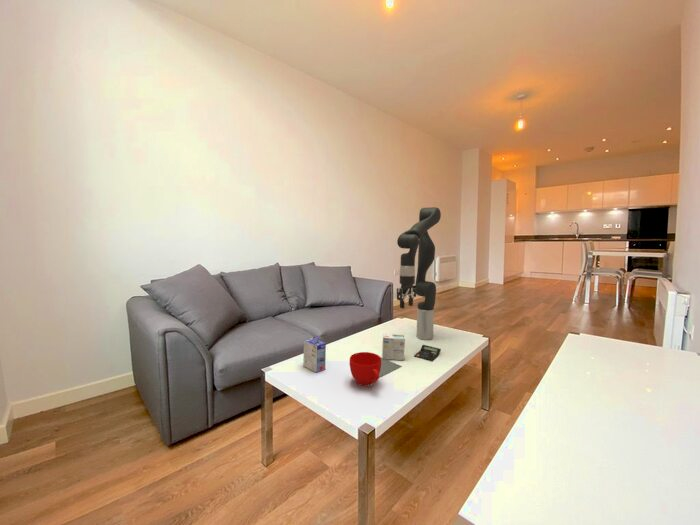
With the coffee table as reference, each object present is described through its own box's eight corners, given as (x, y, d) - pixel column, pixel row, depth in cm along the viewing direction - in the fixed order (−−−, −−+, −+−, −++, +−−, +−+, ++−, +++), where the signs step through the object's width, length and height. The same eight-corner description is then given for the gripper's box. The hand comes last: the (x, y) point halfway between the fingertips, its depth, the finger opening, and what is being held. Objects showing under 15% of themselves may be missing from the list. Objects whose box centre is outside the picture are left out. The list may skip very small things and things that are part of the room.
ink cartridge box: (326, 369, 132) (326, 337, 130) (316, 373, 128) (316, 341, 126) (312, 362, 138) (312, 332, 137) (302, 366, 134) (302, 335, 133)
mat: (372, 354, 148) (372, 354, 148) (401, 366, 135) (401, 366, 135) (349, 364, 137) (349, 363, 137) (378, 378, 124) (378, 377, 124)
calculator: (413, 357, 146) (414, 351, 146) (422, 349, 155) (423, 344, 155) (432, 362, 140) (432, 356, 140) (440, 354, 150) (440, 348, 149)
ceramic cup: (361, 398, 109) (362, 372, 108) (344, 377, 124) (344, 354, 123) (392, 391, 114) (392, 366, 113) (371, 372, 129) (372, 350, 128)
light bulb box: (403, 355, 148) (404, 334, 147) (404, 360, 141) (405, 338, 140) (381, 353, 149) (382, 332, 148) (382, 359, 142) (382, 337, 141)
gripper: (409, 272, 155) (408, 303, 157) (392, 275, 145) (391, 308, 147) (421, 273, 150) (420, 306, 151) (404, 276, 140) (403, 311, 142)
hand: (406, 306), depth 149 cm, fingers open, 6 cm apart
